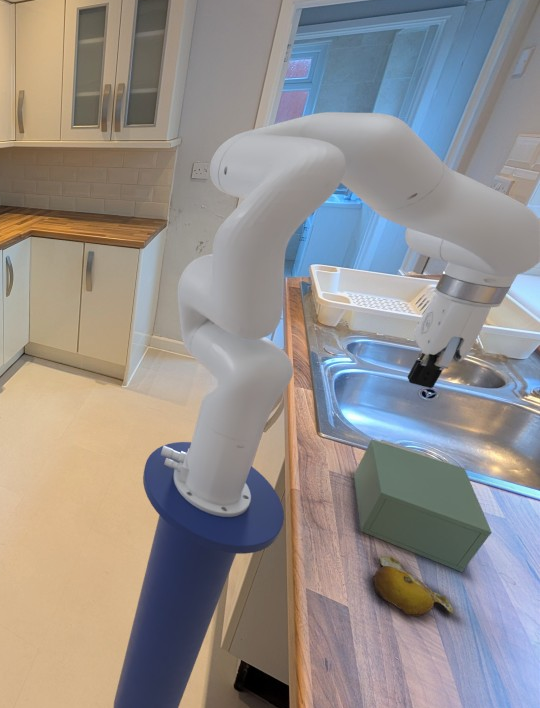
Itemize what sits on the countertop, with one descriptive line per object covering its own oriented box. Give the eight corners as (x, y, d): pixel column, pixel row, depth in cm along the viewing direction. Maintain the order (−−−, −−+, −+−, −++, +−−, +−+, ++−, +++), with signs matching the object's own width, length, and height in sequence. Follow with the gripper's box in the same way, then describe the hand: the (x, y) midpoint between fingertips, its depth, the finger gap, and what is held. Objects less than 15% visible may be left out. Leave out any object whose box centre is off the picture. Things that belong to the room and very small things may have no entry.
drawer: (357, 453, 81) (370, 425, 78) (430, 477, 76) (447, 448, 73) (365, 516, 69) (382, 486, 66) (454, 551, 63) (476, 519, 60)
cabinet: (353, 475, 77) (371, 439, 74) (440, 505, 72) (464, 468, 68) (360, 531, 67) (381, 492, 64) (462, 572, 61) (491, 532, 58)
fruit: (457, 609, 57) (470, 592, 55) (424, 637, 54) (436, 620, 52) (384, 554, 64) (394, 538, 62) (351, 577, 61) (361, 560, 59)
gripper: (428, 271, 76) (386, 358, 83) (450, 298, 64) (398, 396, 72) (488, 280, 72) (437, 371, 80) (522, 311, 61) (459, 413, 68)
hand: (419, 383), depth 76 cm, fingers closed
